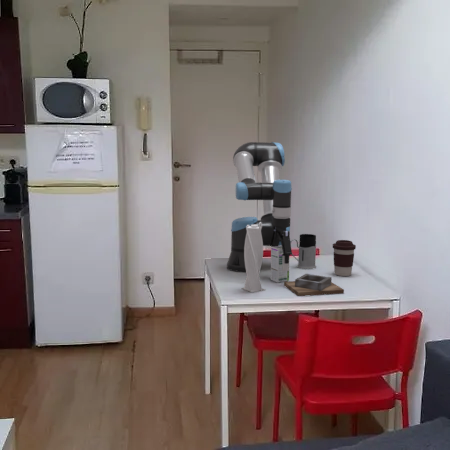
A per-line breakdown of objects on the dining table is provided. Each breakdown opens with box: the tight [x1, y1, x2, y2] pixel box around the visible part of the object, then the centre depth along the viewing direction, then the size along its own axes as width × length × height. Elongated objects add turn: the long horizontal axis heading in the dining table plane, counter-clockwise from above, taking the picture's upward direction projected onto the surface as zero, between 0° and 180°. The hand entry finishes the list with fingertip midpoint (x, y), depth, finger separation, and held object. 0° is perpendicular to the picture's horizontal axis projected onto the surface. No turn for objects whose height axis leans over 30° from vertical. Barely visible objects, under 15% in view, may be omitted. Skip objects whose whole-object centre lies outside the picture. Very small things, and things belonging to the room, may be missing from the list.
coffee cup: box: [332, 239, 357, 277], centre depth 252 cm, size 10×10×15 cm
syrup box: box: [270, 246, 290, 283], centre depth 240 cm, size 6×6×14 cm
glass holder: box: [290, 233, 317, 270], centre depth 264 cm, size 9×14×15 cm, turn 117°
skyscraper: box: [241, 222, 266, 293], centre depth 224 cm, size 8×8×28 cm
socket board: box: [283, 273, 345, 297], centre depth 228 cm, size 16×19×4 cm
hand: (279, 267), depth 241 cm, fingers open, 13 cm apart
